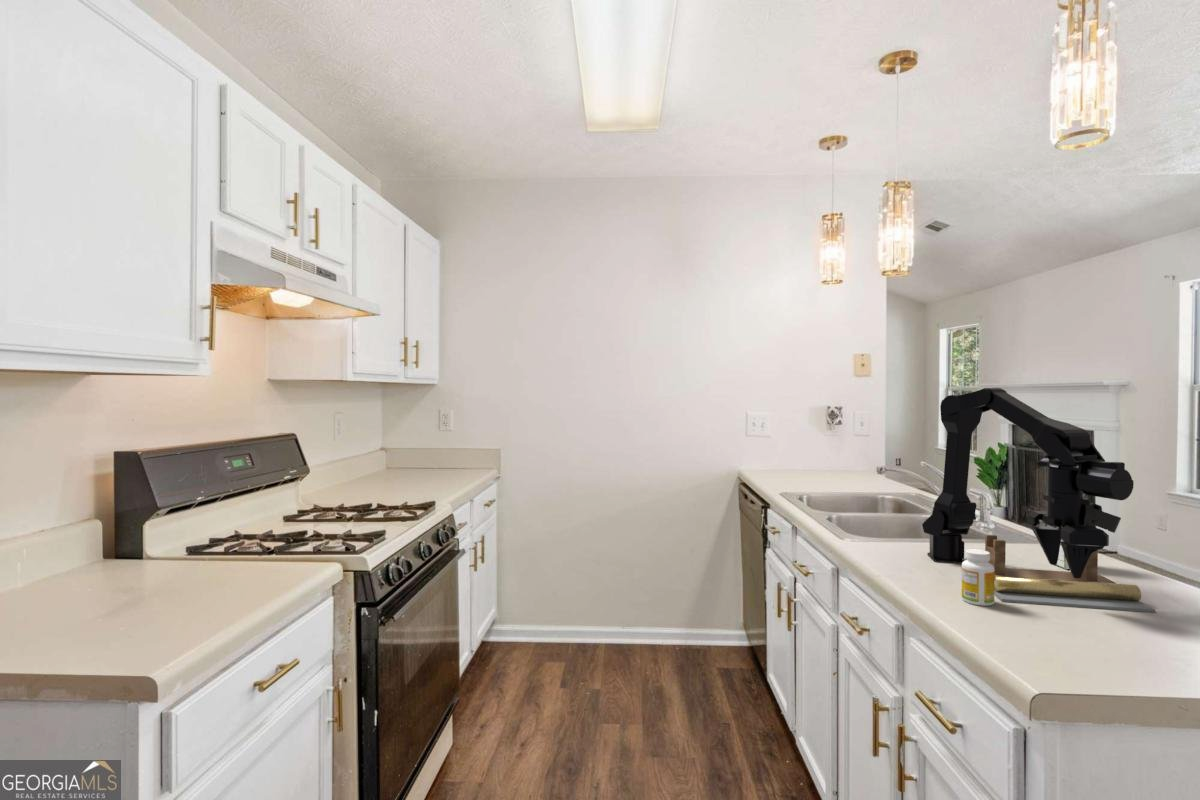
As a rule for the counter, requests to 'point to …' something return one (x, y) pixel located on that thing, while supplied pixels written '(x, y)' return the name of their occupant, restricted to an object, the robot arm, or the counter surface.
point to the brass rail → (1067, 588)
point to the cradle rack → (998, 561)
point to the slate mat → (1073, 601)
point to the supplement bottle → (978, 578)
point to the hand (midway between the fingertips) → (1064, 571)
